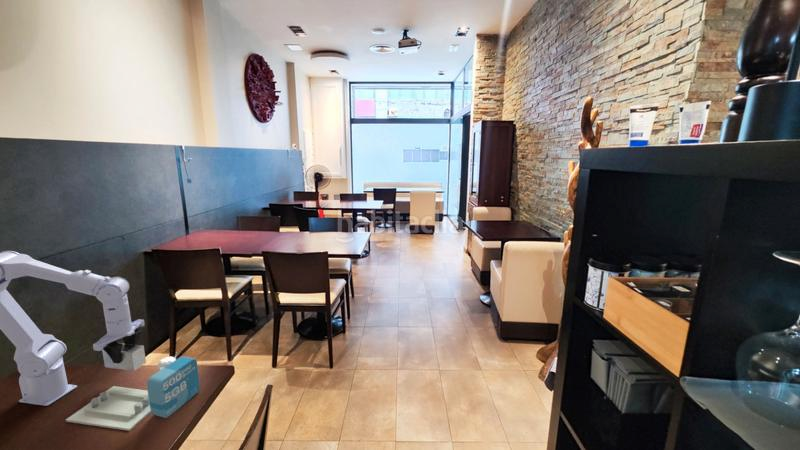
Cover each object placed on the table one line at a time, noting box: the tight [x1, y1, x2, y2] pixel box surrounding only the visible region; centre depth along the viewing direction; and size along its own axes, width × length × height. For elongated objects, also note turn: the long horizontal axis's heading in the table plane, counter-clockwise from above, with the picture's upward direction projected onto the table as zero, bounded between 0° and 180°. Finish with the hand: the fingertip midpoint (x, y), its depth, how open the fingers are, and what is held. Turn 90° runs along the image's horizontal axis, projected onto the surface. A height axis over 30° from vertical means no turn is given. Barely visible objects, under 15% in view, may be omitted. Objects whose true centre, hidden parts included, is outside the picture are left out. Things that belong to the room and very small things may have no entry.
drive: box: [101, 342, 147, 372], centre depth 100 cm, size 10×4×6 cm, turn 84°
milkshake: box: [157, 351, 178, 371], centre depth 101 cm, size 4×5×10 cm
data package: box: [146, 355, 201, 419], centre depth 93 cm, size 12×4×12 cm, turn 166°
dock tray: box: [65, 385, 151, 432], centre depth 91 cm, size 19×13×3 cm
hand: (124, 357), depth 100 cm, fingers closed on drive, 4 cm apart
